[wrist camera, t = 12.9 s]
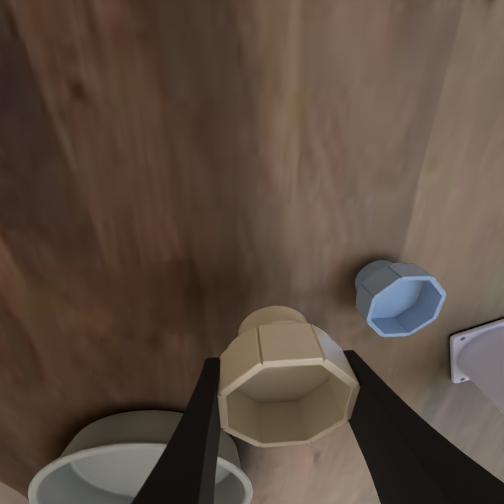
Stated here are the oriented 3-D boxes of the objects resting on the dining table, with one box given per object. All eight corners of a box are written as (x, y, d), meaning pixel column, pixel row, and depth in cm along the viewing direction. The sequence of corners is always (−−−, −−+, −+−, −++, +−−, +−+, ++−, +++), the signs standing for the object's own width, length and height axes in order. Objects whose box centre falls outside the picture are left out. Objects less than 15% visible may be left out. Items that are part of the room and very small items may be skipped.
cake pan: (125, 512, 37) (112, 557, 33) (8, 432, 27) (-33, 484, 23) (272, 476, 35) (277, 520, 31) (207, 375, 25) (201, 421, 21)
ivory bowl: (329, 290, 12) (370, 355, 8) (317, 365, 14) (344, 441, 11) (220, 294, 12) (213, 364, 8) (225, 371, 14) (222, 451, 10)
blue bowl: (415, 250, 20) (455, 274, 16) (398, 303, 22) (429, 335, 19) (351, 252, 20) (378, 277, 16) (340, 305, 22) (361, 338, 18)
